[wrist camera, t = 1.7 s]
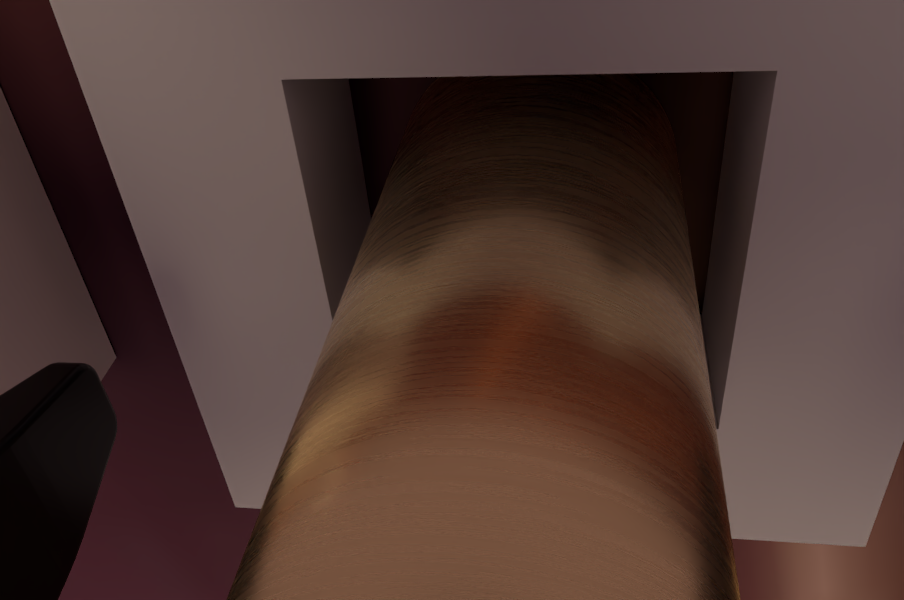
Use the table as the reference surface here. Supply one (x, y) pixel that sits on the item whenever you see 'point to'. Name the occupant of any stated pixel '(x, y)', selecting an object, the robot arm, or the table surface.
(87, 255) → the table surface
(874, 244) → the collar block
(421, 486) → the brass peg
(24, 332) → the tray
